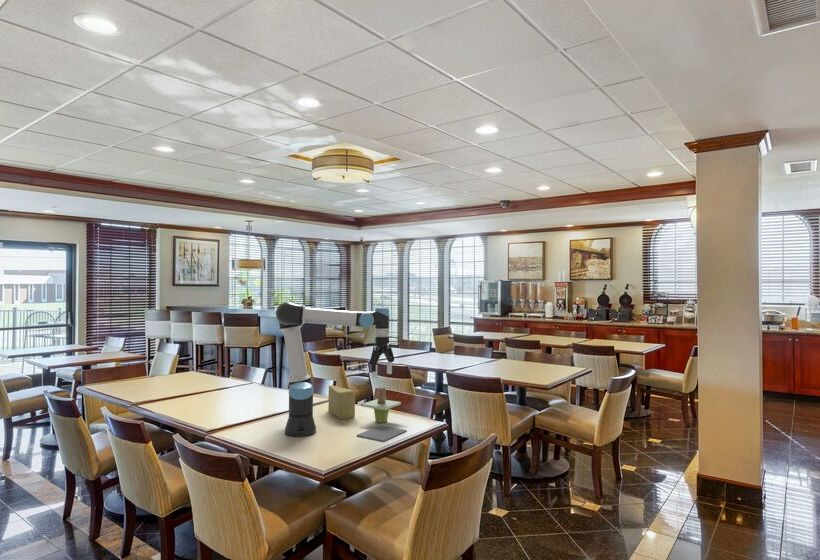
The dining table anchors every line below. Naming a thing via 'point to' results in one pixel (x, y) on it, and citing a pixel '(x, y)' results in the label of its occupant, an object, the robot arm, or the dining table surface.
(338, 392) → the cheese
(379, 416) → the plant pot
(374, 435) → the mat
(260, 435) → the dining table surface
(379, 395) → the lid
